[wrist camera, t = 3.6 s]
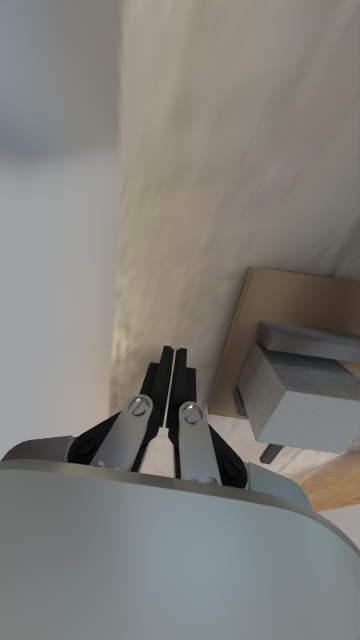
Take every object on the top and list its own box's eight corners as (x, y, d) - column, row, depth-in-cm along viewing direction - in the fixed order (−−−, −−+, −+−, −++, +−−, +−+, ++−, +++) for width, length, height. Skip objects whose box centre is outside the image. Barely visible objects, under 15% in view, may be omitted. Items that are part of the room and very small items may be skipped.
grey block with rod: (224, 414, 15) (235, 473, 11) (254, 339, 11) (286, 390, 7) (336, 430, 15) (387, 496, 11) (404, 360, 11) (518, 424, 7)
